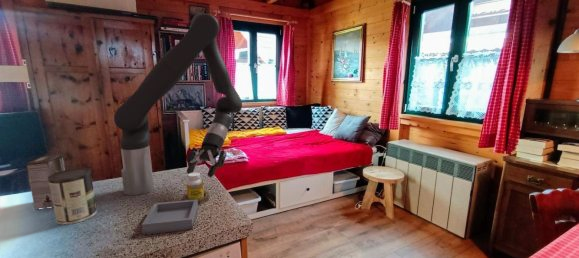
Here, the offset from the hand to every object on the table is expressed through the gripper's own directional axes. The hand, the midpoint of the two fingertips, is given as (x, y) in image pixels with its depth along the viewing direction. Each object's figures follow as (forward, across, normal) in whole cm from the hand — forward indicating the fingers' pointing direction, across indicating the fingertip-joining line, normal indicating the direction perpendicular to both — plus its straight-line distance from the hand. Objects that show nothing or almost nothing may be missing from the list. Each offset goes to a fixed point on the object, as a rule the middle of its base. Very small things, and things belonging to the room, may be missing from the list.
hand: (199, 175), depth 95 cm
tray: (+17, +2, -6) cm, 18 cm away
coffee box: (+20, -46, -8) cm, 50 cm away
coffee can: (+22, -28, -11) cm, 38 cm away
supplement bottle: (+8, 0, +4) cm, 9 cm away
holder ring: (+8, 0, +4) cm, 9 cm away
